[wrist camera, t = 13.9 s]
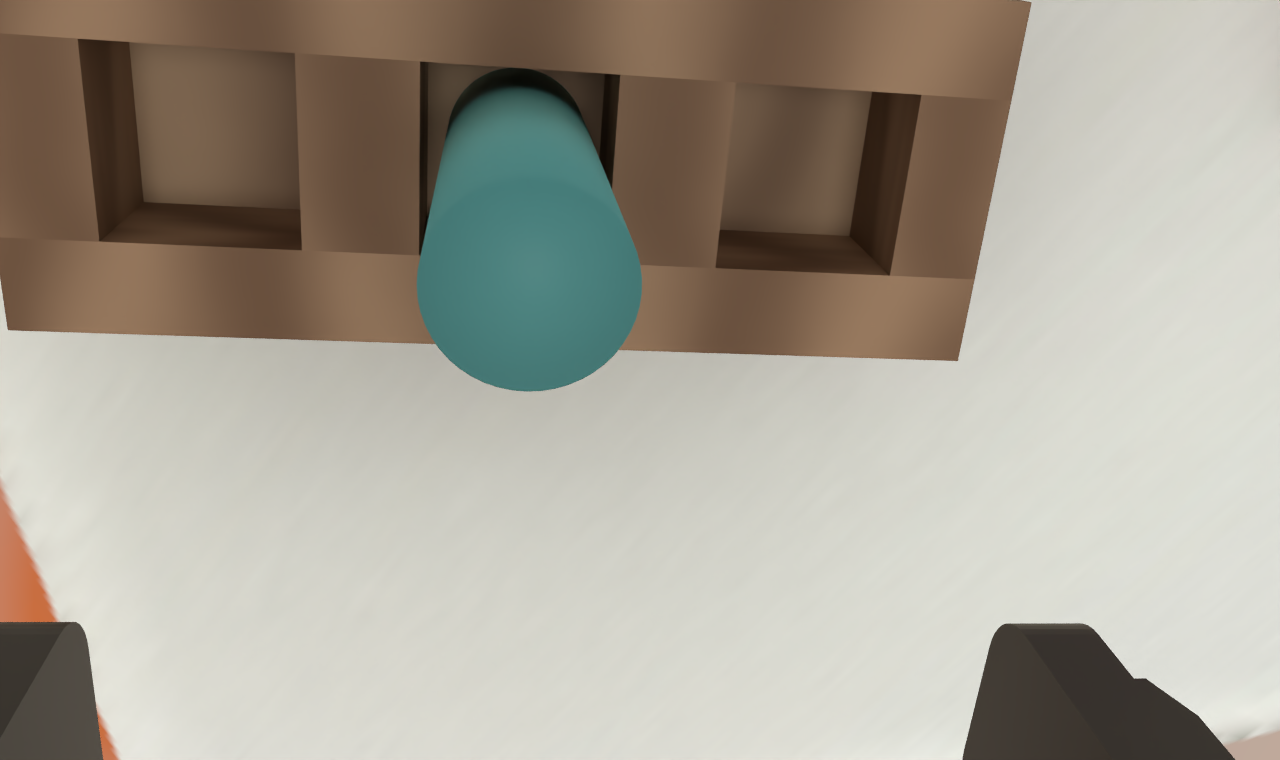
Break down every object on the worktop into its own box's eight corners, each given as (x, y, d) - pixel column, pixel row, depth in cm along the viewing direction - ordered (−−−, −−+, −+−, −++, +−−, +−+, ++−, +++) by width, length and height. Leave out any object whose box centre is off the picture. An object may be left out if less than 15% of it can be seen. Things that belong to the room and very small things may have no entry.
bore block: (73, 270, 34) (8, 330, 29) (30, -89, 30) (-53, -85, 26) (901, 303, 38) (957, 360, 33) (958, -13, 34) (1031, 2, 29)
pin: (448, 62, 32) (416, 171, 19) (589, 71, 32) (650, 183, 20) (446, 202, 33) (415, 388, 21) (581, 208, 34) (633, 393, 21)
